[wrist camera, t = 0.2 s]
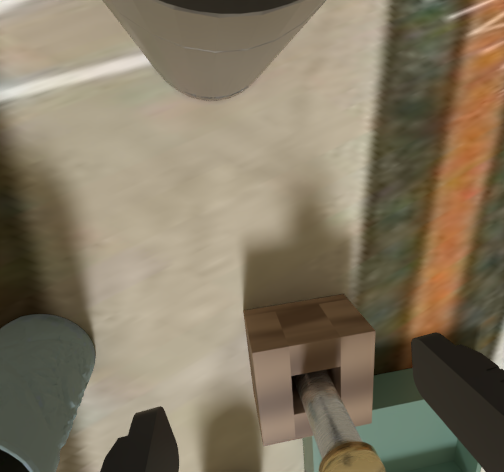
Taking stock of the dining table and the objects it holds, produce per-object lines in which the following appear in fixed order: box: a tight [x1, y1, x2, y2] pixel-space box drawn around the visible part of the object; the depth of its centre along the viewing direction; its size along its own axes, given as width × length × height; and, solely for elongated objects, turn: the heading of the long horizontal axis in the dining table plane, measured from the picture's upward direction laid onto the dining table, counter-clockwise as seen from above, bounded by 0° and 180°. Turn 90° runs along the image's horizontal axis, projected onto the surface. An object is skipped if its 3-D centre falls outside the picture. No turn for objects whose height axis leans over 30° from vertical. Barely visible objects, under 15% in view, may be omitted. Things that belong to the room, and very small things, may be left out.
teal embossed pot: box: [0, 314, 95, 472], centre depth 22 cm, size 10×10×12 cm
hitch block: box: [243, 294, 375, 446], centre depth 28 cm, size 10×10×6 cm
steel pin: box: [293, 370, 386, 472], centre depth 24 cm, size 4×4×12 cm
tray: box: [303, 368, 481, 472], centre depth 35 cm, size 16×20×4 cm
